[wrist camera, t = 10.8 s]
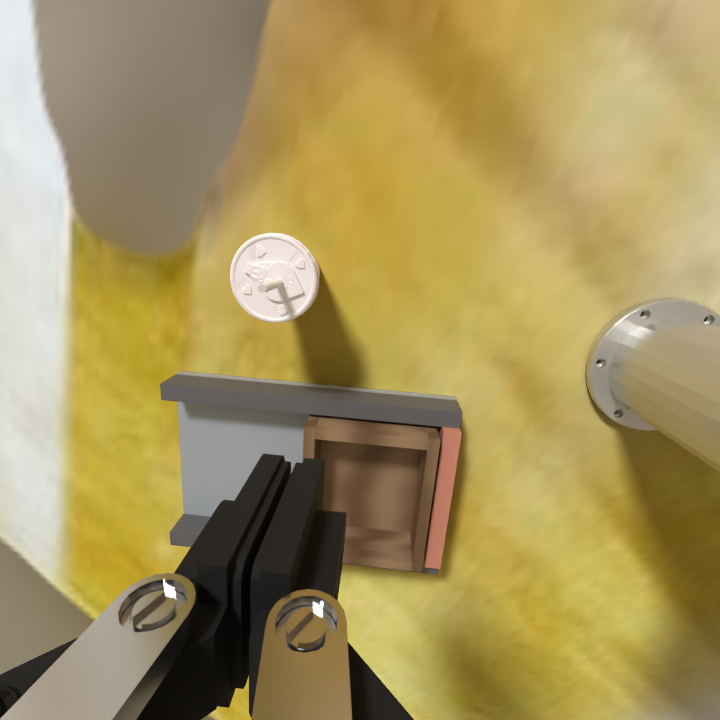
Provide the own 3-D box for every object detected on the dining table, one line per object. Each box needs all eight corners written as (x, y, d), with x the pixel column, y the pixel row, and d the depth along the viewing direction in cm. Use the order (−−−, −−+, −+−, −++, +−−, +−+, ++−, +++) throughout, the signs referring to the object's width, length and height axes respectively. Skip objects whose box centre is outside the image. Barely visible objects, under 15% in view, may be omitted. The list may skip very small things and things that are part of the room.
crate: (434, 417, 40) (440, 441, 35) (417, 536, 44) (421, 572, 39) (313, 406, 40) (303, 427, 36) (308, 524, 44) (298, 558, 39)
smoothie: (319, 315, 39) (284, 352, 26) (258, 289, 39) (189, 312, 25) (344, 252, 37) (321, 256, 24) (280, 224, 37) (219, 211, 24)
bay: (455, 396, 40) (464, 416, 36) (432, 546, 45) (438, 582, 40) (181, 371, 42) (154, 387, 37) (188, 520, 46) (165, 551, 42)
